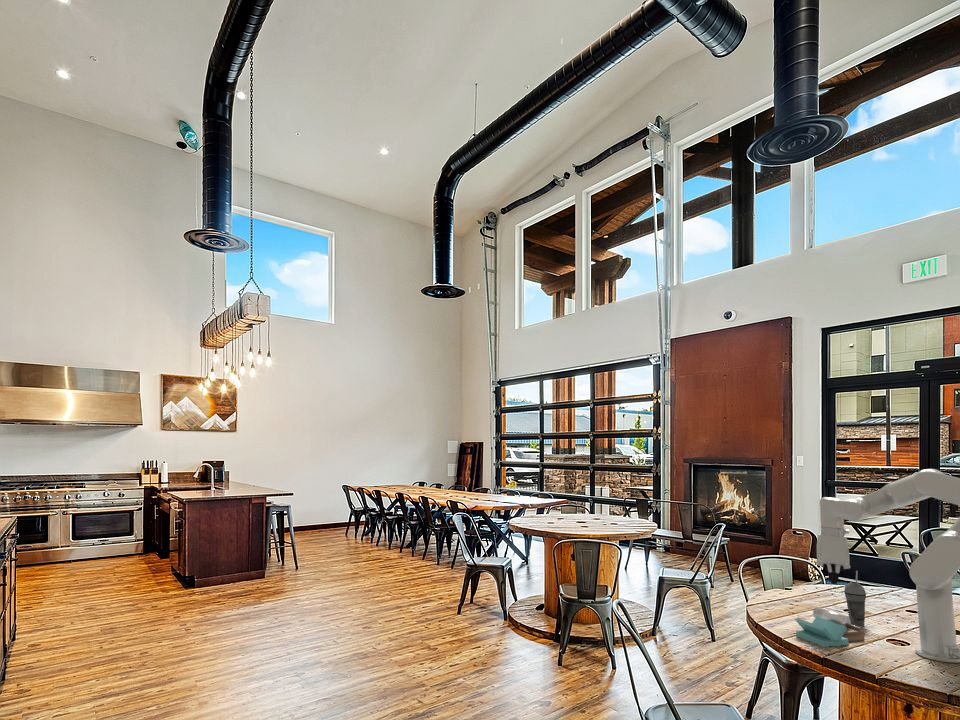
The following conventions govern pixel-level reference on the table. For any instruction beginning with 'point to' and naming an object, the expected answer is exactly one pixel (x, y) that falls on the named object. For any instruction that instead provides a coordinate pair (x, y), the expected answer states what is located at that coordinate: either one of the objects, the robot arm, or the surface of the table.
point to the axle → (832, 616)
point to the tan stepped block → (854, 633)
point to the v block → (822, 632)
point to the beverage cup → (855, 602)
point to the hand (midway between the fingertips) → (833, 583)
